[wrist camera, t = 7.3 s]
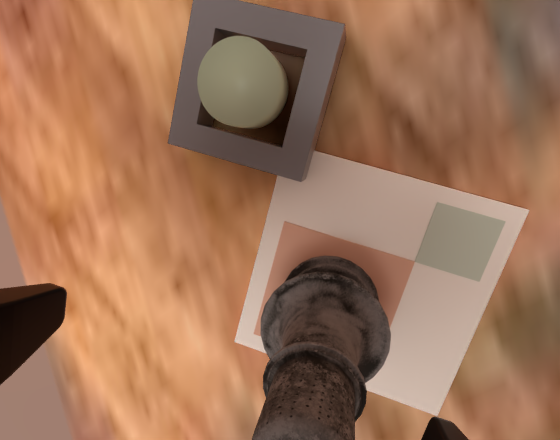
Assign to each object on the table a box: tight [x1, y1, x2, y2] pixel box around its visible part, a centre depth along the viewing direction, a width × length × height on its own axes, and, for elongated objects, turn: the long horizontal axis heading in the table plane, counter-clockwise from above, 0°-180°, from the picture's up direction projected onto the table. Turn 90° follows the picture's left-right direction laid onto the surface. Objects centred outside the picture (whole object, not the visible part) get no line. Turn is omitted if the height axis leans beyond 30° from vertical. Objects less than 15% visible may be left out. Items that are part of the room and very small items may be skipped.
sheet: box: [234, 150, 529, 416], centre depth 19 cm, size 12×12×1 cm
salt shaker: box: [252, 256, 391, 440], centre depth 14 cm, size 6×6×12 cm
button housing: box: [168, 0, 346, 182], centre depth 18 cm, size 7×7×2 cm
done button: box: [197, 36, 289, 129], centre depth 16 cm, size 4×4×2 cm
